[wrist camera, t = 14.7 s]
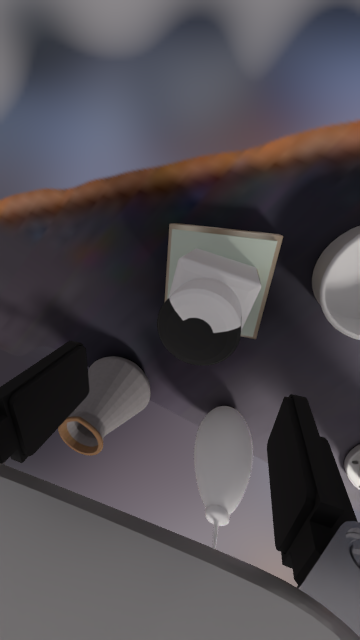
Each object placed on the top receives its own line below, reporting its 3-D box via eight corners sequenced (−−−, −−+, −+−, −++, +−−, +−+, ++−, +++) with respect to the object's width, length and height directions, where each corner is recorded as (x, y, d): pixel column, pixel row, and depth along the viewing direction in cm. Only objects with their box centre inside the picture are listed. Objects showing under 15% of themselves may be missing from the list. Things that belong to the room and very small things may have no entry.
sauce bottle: (259, 423, 37) (271, 578, 21) (217, 433, 40) (199, 573, 24) (237, 387, 35) (231, 525, 19) (195, 400, 39) (160, 527, 23)
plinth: (279, 234, 26) (284, 236, 22) (254, 328, 31) (256, 341, 27) (177, 223, 28) (167, 223, 25) (170, 312, 33) (161, 322, 30)
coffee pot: (158, 357, 37) (109, 434, 24) (154, 408, 42) (112, 496, 29) (46, 330, 41) (-49, 383, 28) (54, 380, 46) (-23, 445, 33)
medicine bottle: (233, 324, 27) (226, 391, 17) (178, 304, 28) (138, 356, 18) (258, 267, 24) (269, 306, 13) (195, 247, 25) (158, 267, 14)
